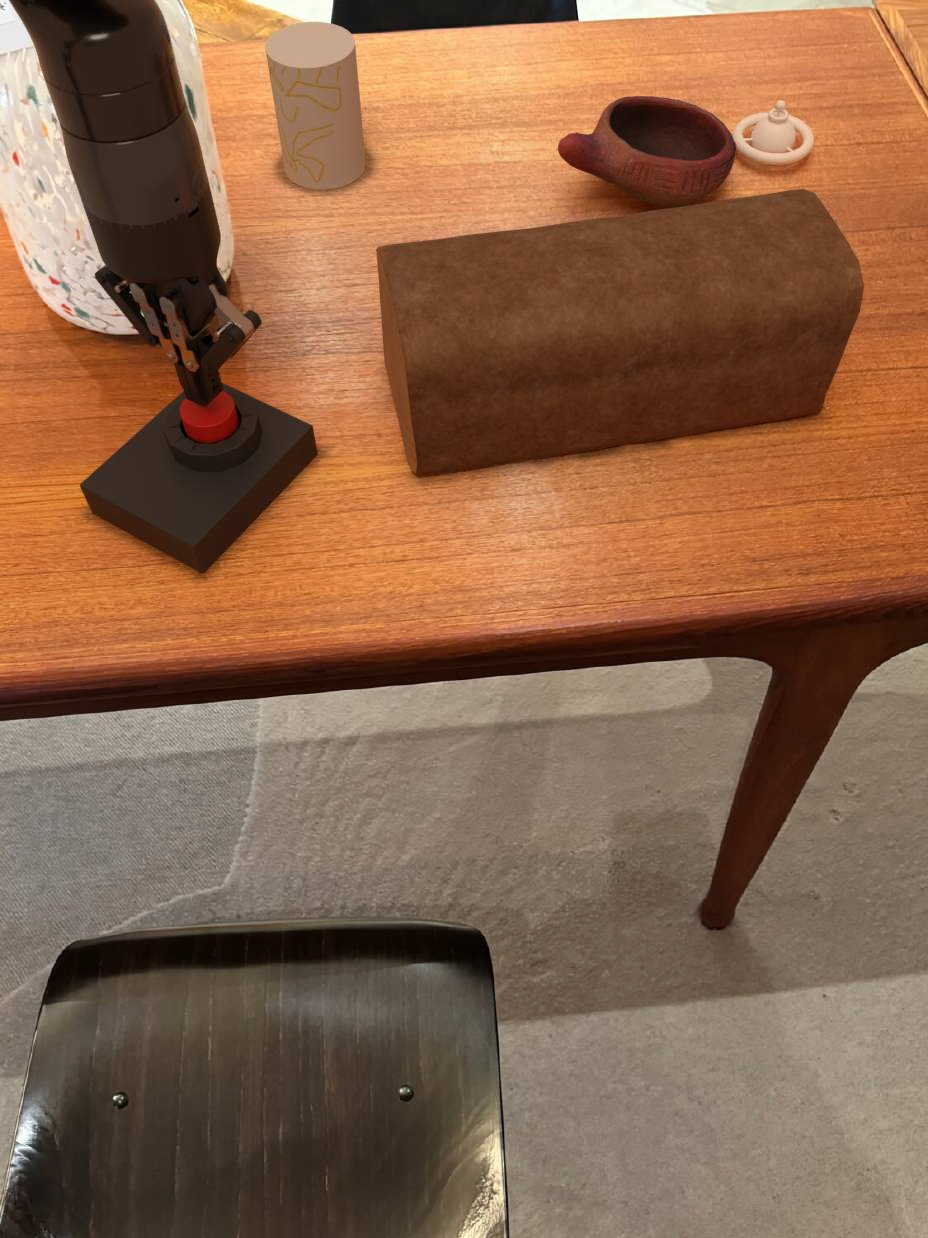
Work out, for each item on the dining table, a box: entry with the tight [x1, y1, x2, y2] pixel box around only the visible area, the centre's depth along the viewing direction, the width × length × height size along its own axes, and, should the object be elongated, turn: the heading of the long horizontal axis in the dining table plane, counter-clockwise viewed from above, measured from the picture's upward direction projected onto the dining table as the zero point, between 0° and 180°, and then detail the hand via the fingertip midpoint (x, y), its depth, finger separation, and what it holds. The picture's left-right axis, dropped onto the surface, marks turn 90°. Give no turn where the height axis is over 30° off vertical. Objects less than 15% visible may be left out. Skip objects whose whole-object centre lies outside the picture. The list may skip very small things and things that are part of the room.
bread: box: [375, 188, 865, 477], centre depth 82 cm, size 14×34×14 cm, turn 102°
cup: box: [264, 21, 367, 191], centre depth 101 cm, size 8×8×12 cm
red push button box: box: [79, 382, 319, 574], centre depth 80 cm, size 14×11×5 cm
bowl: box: [557, 95, 737, 208], centre depth 99 cm, size 16×13×8 cm
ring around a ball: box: [731, 99, 815, 166], centre depth 104 cm, size 8×6×8 cm
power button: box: [180, 391, 238, 443], centre depth 79 cm, size 4×4×2 cm
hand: (205, 396), depth 77 cm, fingers closed
